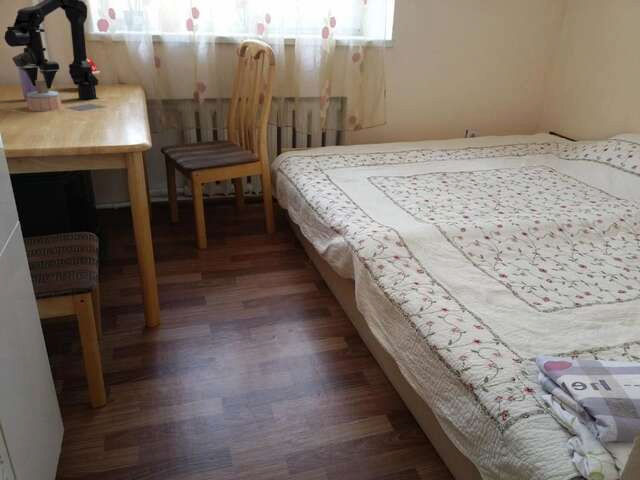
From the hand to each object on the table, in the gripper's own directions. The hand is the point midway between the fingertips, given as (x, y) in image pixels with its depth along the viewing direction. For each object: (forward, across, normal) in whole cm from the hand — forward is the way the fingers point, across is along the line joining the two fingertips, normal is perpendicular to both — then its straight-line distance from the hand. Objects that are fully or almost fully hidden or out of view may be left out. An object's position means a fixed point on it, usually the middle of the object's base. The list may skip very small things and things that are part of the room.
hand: (41, 87), depth 207 cm
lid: (+3, 0, 0) cm, 3 cm away
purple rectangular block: (+8, -22, +8) cm, 25 cm away
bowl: (+8, 0, 0) cm, 8 cm away
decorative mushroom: (+9, -29, +40) cm, 50 cm away
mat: (+8, +10, +11) cm, 17 cm away
